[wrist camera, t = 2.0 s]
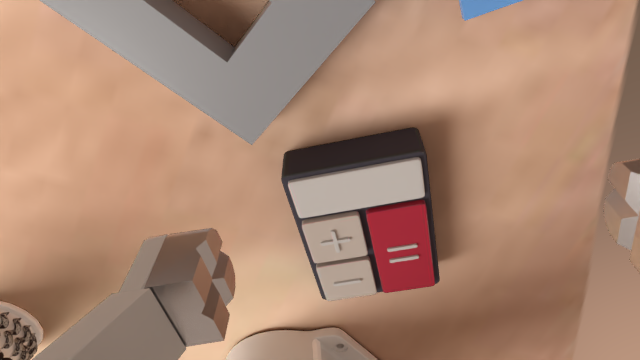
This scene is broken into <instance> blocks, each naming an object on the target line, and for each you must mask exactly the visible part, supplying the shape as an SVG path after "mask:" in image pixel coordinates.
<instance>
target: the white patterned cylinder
mask: <svg viewBox="0 0 640 360" xmlns="http://www.w3.org/2000/svg"><path fill="white" fill-rule="evenodd" d="M42 340H43V328H42V327H41V325H40V323H39V321H38V320H37V319H36V318H35V317H33V316H32V315H31V314H30V313H28V312H27V311H26V310H24V309H22V308H20V307H17V306H15V305H13V304H11V303H7V302H3V301H0V360H30V359H31V358H32V357H33V355H34V354H35V353H36V352H37V346H38V345H39V344H40V343H41V342H42Z"/></svg>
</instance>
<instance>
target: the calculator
mask: <svg viewBox="0 0 640 360" xmlns="http://www.w3.org/2000/svg"><path fill="white" fill-rule="evenodd" d="M281 180H282V184H283V187H284V189H285V192H286V195H287V198H288V201H289V204H290V207H291V210H292V212H293V215H294V218H295V221H296V224H297V227H298V230H299V233H300V236H301V238H302V241H303V244H304V247H305V250H306V253H307V256H308V259H309V262H310V264H311V267H312V270H313V273H314V276H315V279H316V282H317V285H318V287H319V290H320V293H321V296H322V298H323V299H325V300H328V301H334V300H341V299H348V298H354V297H361V296H368V295H374V294H376V293H377V292H385V293H389V292H395V291H402V290H409V289H416V288H423V287H430V286H434V285H435V284H436V283H438V282H439V269H438V260H437V250H436V241H435V232H434V222H433V213H432V203H431V194H430V184H429V175H428V165H427V156H426V152H425V149H424V146H423V142H422V139H421V136H420V133H419V131H418V129H417V128H407V129H402V130H397V131H391V132H386V133H381V134H376V135H371V136H365V137H360V138H355V139H350V140H344V141H339V142H334V143H329V144H324V145H318V146H313V147H308V148H303V149H298V150H292V151H288V152H286V153H285V154H284V159H283V168H282V178H281Z"/></svg>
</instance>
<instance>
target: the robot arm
mask: <svg viewBox="0 0 640 360" xmlns="http://www.w3.org/2000/svg"><path fill="white" fill-rule="evenodd" d="M608 181H609V182H610V183H611V185H612V186H613V187H614V189H613V191H611V193H610V194H609V195H608V196H607V197H606V198H605V202H604V203H605V204H604V211H603V212H604V218H605V223H606V226H607V228H608V231H609V232H610V235H611V236H612V238H613V239H614V240H615V242H616V243H617V244H619V245H621V246H623V247H625V248H627V249H630V250H631V254H630V259H629V260H630V261H631V263H632V264H633V265H634V267H635V268H636V269H637V271H638V272H639V273H640V159H634V160H628V161H622V162H616V163H613V165H612V167H611V169H610V171H609V177H608ZM221 245H222V240H221V238H220V236H219V234H218V232H217V230H215V229H213V228H209V229H202V230H195V231H188V232H181V233H174V234H170V235H161V236H155V237H149V238H147V239H146V240H144V242H143V244H142V246H141V248H140V250H139V252H138V254H137V256H136V258H135V260H134V262H133V264H132V266H131V268H130V270H129V272H128V274H127V276H126V278H125V280H124V282H123V285H122V287H121V289H120V291H119V293H113V294H111V295H110V296H108V297H107V298H106V299H105V300H104V301H102V302H101V303H100V304H99V305H98V306H96V307H95V308H94V309H93V310H91V311H90V312H89V313H88V314H87V315H85V316H84V317H83V318H82V319H81V320H79V321H78V322H77V323H76V324H75V325H73V326H72V327H71V328H70V329H68V330H67V331H66V332H65V333H64V334H62V335H61V336H60V337H59V338H58V339H56V340H55V341H54V342H53V343H52V344H50V345H49V346H48V347H47V348H45V349H44V350H43V351H42V352H41V353H39V354H38V355H37V356H36V357H35V358H33V359H32V360H178V359H179V358H180V356H181V355H182V354H183V352H184V351H185V350H186V347H187V346H193V345H200V344H206V343H212V342H219V341H224V339H225V334H226V330H227V325H228V320H229V316H230V314H229V312H228V310H227V308H226V305H227V304H228V303H229V302H230V301H231V300H232V299H233V297H234V292H235V273H234V269H233V265H232V262H231V260H230V258H229V256H227V255H226V254H224V253H223V252H221V251H220V249H221ZM226 360H378V359H377V358H375V357H374V356H373V355H372V354H371V353H369V352H368V351H367V350H366V349H365V348H363V347H362V346H361V345H360V344H359V343H357V342H356V341H355V340H354V339H353V338H351V337H350V336H349V335H348V334H346V333H345V332H344V331H343V330H341V329H339V328H324V329H318V330H313V331H294V330H277V331H269V332H264V333H259V334H256V335H253V336H251V337H248V338H246V339H244V340H242V341H241V342H239V343H238V344H237V345H235V346H234V347H233V348H232V349H231V351H230V352H229V353H228V355H227V357H226Z"/></svg>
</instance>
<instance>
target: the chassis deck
mask: <svg viewBox="0 0 640 360" xmlns="http://www.w3.org/2000/svg"><path fill="white" fill-rule="evenodd" d="M40 1H41V2H43V3H44V4H46V5H47V6H49V7H50V8H51V9H53V10H54V11H56V12H57V13H59V14H60V15H62V16H63V17H65V18H66V19H68V20H69V21H71V22H72V23H73V24H75V25H76V26H78V27H79V28H81V29H82V30H84V31H85V32H87V33H88V34H90V35H91V36H93V37H94V38H95V39H97V40H98V41H100V42H101V43H103V44H104V45H106V46H107V47H109V48H110V49H112V50H113V51H115V52H116V53H118V54H119V55H120V56H122V57H123V58H125V59H126V60H128V61H129V62H131V63H132V64H134V65H135V66H137V67H138V68H140V69H141V70H142V71H144V72H145V73H147V74H148V75H150V76H151V77H153V78H154V79H156V80H157V81H159V82H160V83H162V84H163V85H164V86H166V87H167V88H169V89H170V90H172V91H173V92H175V93H176V94H178V95H179V96H181V97H182V98H184V99H185V100H186V101H188V102H189V103H191V104H192V105H194V106H195V107H197V108H198V109H200V110H201V111H203V112H204V113H206V114H207V115H208V116H210V117H211V118H213V119H214V120H216V121H217V122H219V123H220V124H222V125H223V126H225V127H226V128H228V129H229V130H231V131H232V132H233V133H235V134H236V135H238V136H239V137H241V138H242V139H244V140H245V141H247V142H248V143H250V144H251V145H252V144H253V143H254V142H255V141H256V140H257V138H258V137H259V136H260V135H261V134H262V133H263V132H264V130H265V129H266V128H267V127H268V126H269V125H270V123H271V122H272V121H273V120H274V119H275V118H276V116H277V115H278V114H279V113H280V112H281V111H282V110H283V108H284V107H285V106H286V105H287V104H288V103H289V101H290V100H291V99H292V98H293V97H294V96H295V94H296V93H297V92H298V91H299V90H300V89H301V88H302V86H303V85H304V84H305V83H306V82H307V81H308V79H309V78H310V77H311V76H312V75H313V74H314V72H315V71H316V70H317V69H318V68H319V67H320V66H321V64H322V63H323V62H324V61H325V60H326V59H327V57H328V56H329V55H330V54H331V53H332V52H333V51H334V49H335V48H336V47H337V46H338V45H339V44H340V42H341V41H342V40H343V39H344V38H345V37H346V35H347V34H348V33H349V32H350V31H351V30H352V29H353V27H354V26H355V25H356V24H357V23H358V22H359V20H360V19H361V18H362V17H363V16H364V15H365V13H366V12H367V11H368V10H369V9H370V8H371V7H372V5H373V4H374V3H375V0H269V2H268V3H267V4H266V6H265V7H264V8H263V10H262V11H261V12H260V14H259V15H258V16H257V18H256V19H255V21H254V22H253V23H252V25H251V26H250V27H249V29H248V30H247V31H246V33H245V34H244V35H243V37H242V38H241V40H240V41H239V42H238V44H237V45H236V46H235V47H233V46H232V45H231V44H229V43H228V42H227V41H225V40H224V39H223V38H221V37H220V36H219V35H217V34H216V33H215V32H213V31H212V30H211V29H209V28H208V27H207V26H206V25H204V24H203V23H202V22H200V21H199V20H198V19H196V18H195V17H194V16H192V15H191V14H190V13H188V12H187V11H186V10H184V9H183V8H182V7H181V6H179V5H178V4H177V3H175V2H174V1H173V0H40Z"/></svg>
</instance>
